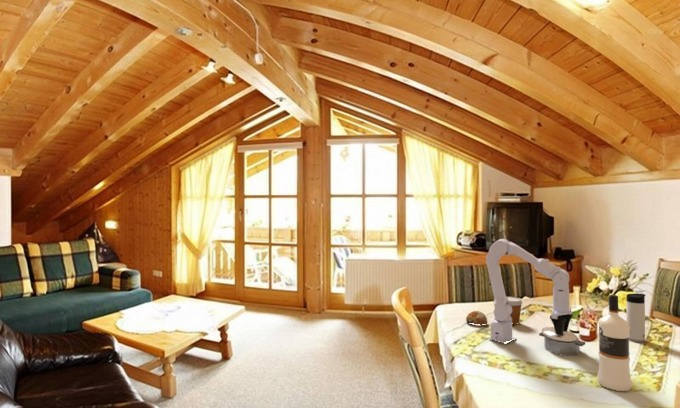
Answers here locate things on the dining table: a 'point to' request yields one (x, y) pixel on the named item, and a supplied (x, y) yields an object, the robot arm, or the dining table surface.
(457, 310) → the dining table surface
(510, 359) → the dining table surface
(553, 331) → the lid
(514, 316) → the disposable coffee cup
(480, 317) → the bread roll
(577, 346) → the pot
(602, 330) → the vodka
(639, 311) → the travel mug
